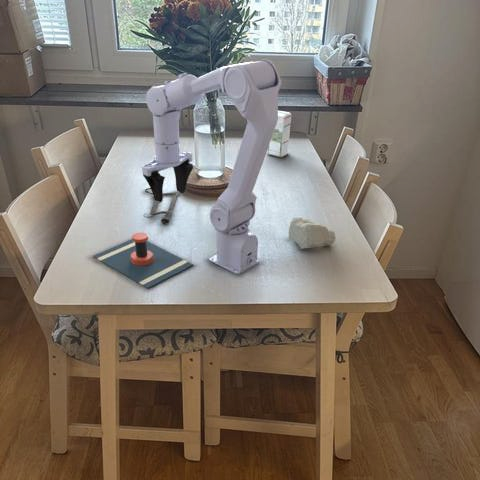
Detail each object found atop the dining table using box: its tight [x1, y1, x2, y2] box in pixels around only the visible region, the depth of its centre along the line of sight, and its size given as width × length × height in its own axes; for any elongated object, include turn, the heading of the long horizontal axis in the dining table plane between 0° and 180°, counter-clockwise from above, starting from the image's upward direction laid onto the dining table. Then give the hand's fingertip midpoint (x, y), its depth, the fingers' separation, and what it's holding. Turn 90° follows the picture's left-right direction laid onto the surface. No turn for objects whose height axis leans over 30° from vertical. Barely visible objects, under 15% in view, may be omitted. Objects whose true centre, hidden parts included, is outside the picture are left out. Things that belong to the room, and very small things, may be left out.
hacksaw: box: [143, 187, 179, 225], centre depth 145 cm, size 24×10×2 cm, turn 179°
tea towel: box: [92, 238, 194, 290], centre depth 120 cm, size 20×14×1 cm
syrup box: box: [267, 110, 292, 158], centre depth 180 cm, size 6×6×14 cm
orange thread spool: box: [131, 232, 153, 266], centre depth 118 cm, size 5×5×6 cm
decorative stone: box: [288, 217, 336, 250], centre depth 128 cm, size 11×9×10 cm
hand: (169, 196), depth 126 cm, fingers open, 7 cm apart
